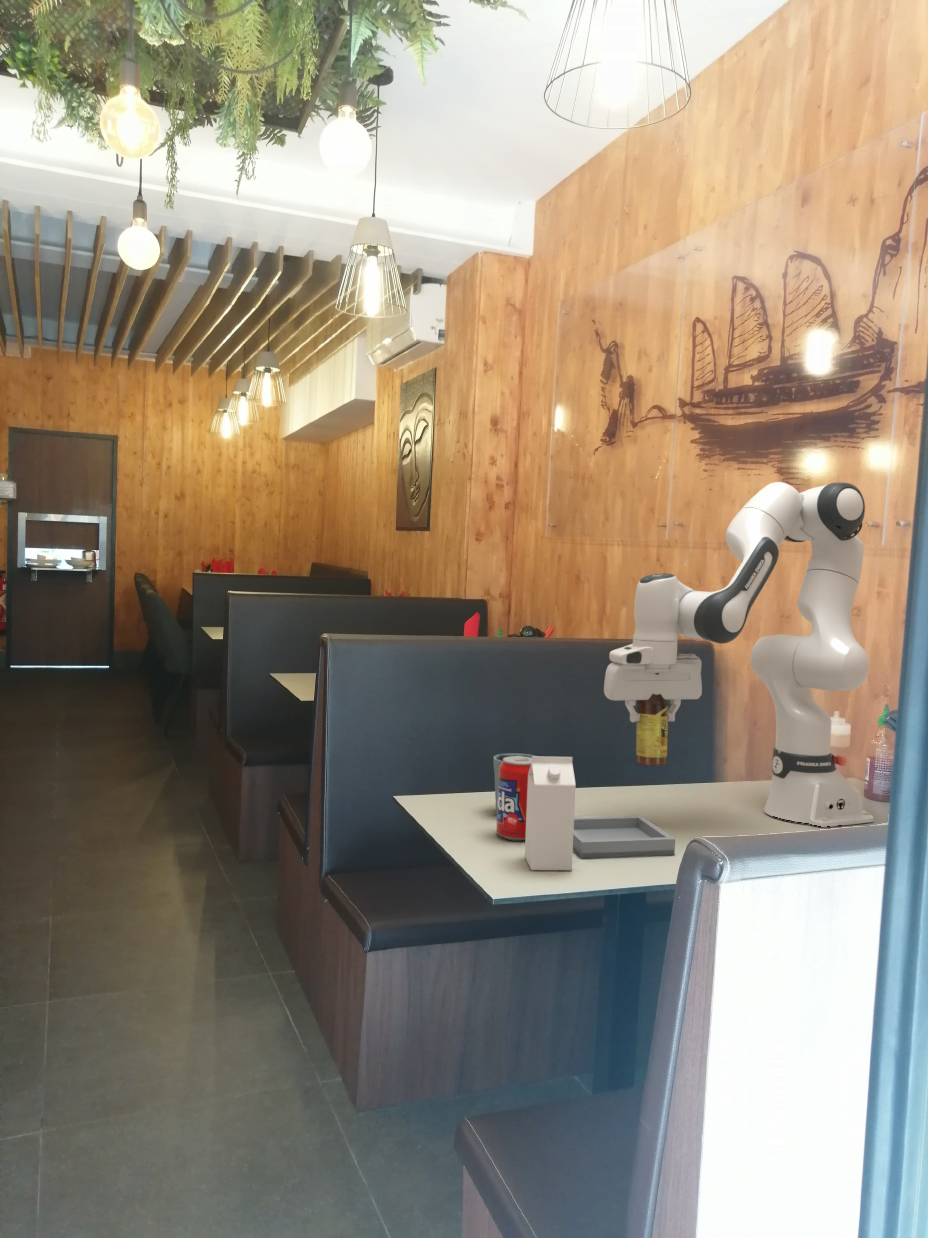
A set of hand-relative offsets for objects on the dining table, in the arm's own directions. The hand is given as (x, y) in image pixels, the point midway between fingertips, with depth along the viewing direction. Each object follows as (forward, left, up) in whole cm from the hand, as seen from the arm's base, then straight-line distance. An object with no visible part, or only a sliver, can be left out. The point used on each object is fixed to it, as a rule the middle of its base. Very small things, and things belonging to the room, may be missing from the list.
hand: (652, 721), depth 180 cm
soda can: (+29, +5, -22) cm, 37 cm away
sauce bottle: (0, 0, -9) cm, 9 cm away
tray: (+12, +12, -21) cm, 27 cm away
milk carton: (+28, +21, -22) cm, 41 cm away
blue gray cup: (+25, -10, -22) cm, 35 cm away
